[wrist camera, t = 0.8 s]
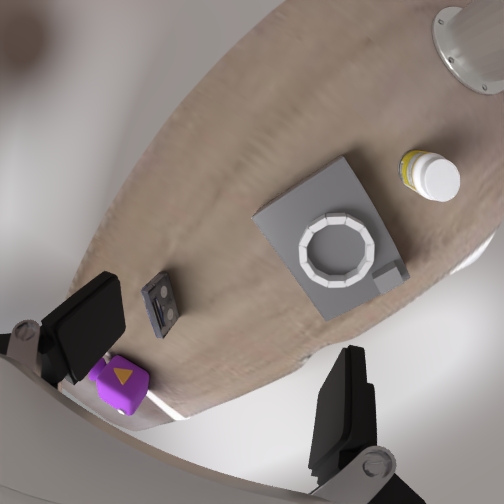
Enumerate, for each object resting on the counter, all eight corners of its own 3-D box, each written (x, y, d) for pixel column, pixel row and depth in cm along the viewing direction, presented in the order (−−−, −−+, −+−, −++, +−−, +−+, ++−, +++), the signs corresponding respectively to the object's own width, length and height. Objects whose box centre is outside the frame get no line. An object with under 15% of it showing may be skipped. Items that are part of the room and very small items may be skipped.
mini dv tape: (159, 271, 41) (139, 291, 36) (168, 272, 41) (147, 291, 36) (171, 315, 45) (154, 337, 39) (179, 316, 44) (163, 339, 39)
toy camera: (100, 342, 54) (75, 369, 45) (150, 365, 52) (127, 398, 43) (109, 371, 59) (88, 397, 50) (154, 393, 57) (135, 423, 48)
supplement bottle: (439, 171, 27) (471, 183, 19) (415, 197, 29) (441, 217, 21) (414, 141, 26) (443, 143, 19) (389, 168, 28) (411, 178, 21)
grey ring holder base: (340, 154, 29) (345, 157, 25) (403, 264, 32) (413, 283, 28) (257, 209, 34) (247, 221, 29) (326, 306, 37) (325, 328, 33)
